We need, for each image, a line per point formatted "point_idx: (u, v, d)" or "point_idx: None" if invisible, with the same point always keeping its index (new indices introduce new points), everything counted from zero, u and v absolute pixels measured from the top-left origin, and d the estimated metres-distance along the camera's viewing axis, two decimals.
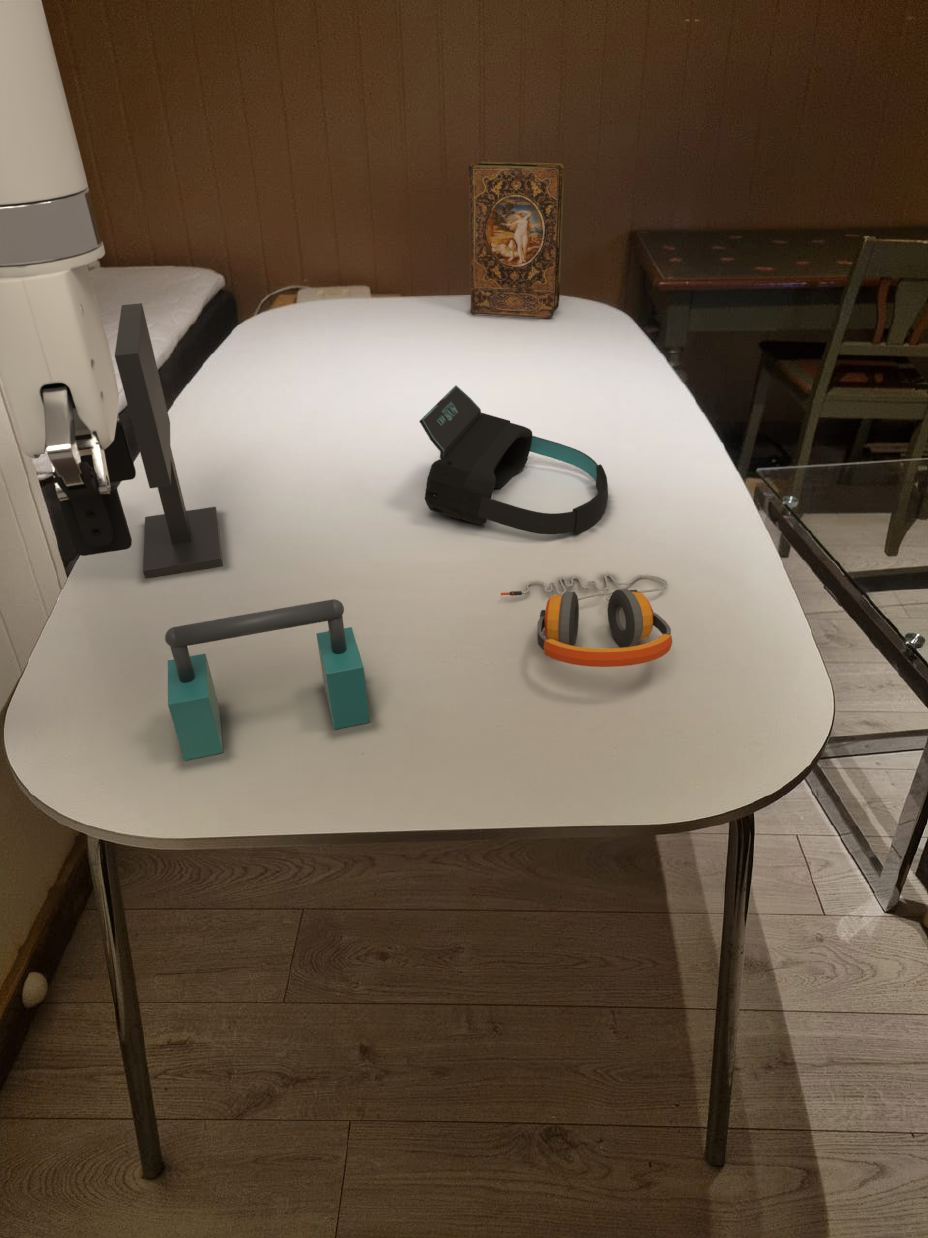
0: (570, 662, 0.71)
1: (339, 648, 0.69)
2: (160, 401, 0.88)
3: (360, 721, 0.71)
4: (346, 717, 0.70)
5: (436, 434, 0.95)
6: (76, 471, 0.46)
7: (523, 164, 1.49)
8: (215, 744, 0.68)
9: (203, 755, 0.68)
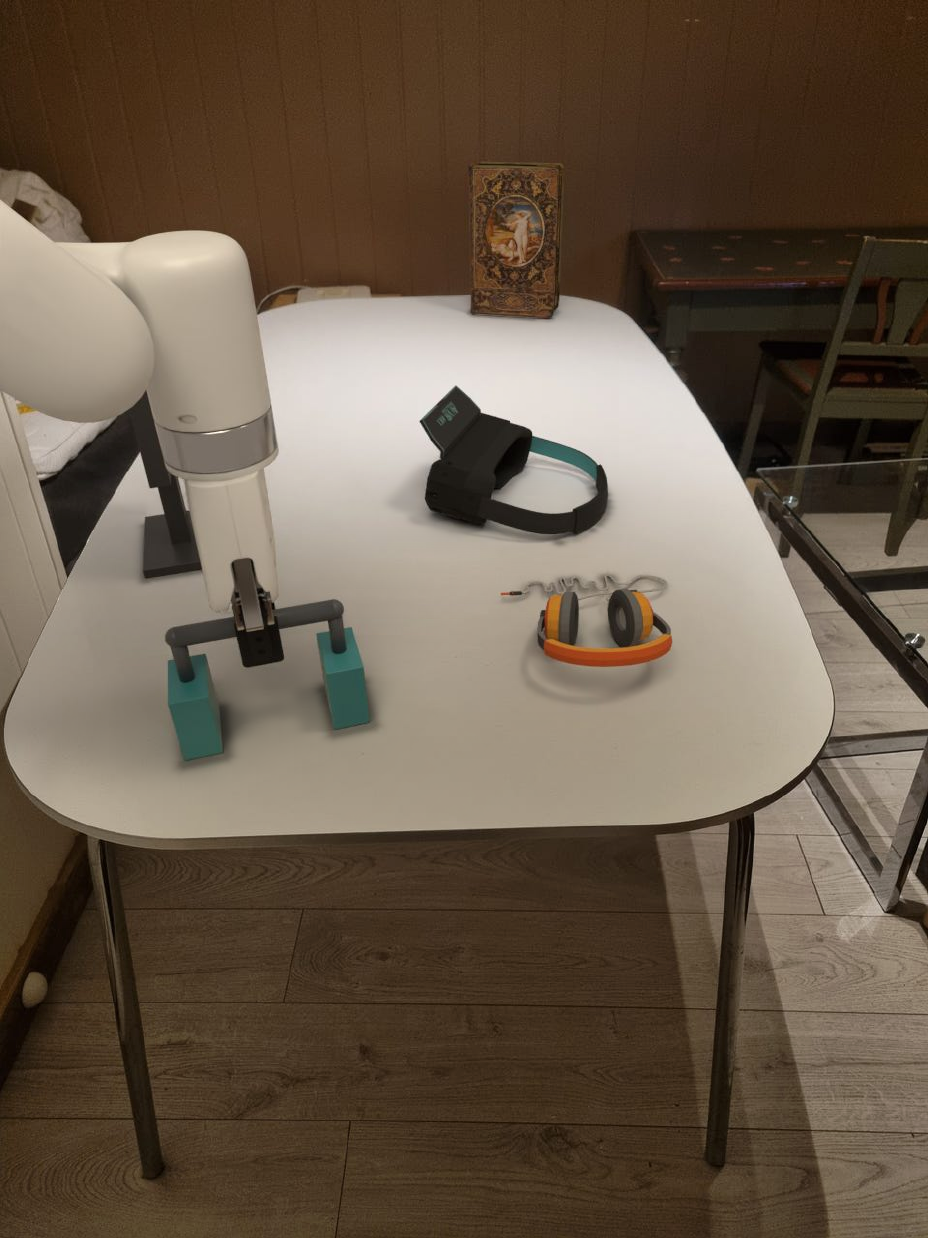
0: (570, 662, 0.71)
1: (339, 648, 0.69)
2: None
3: (360, 721, 0.71)
4: (346, 716, 0.70)
5: (436, 434, 0.95)
6: None
7: (523, 164, 1.49)
8: (215, 744, 0.68)
9: (203, 755, 0.68)
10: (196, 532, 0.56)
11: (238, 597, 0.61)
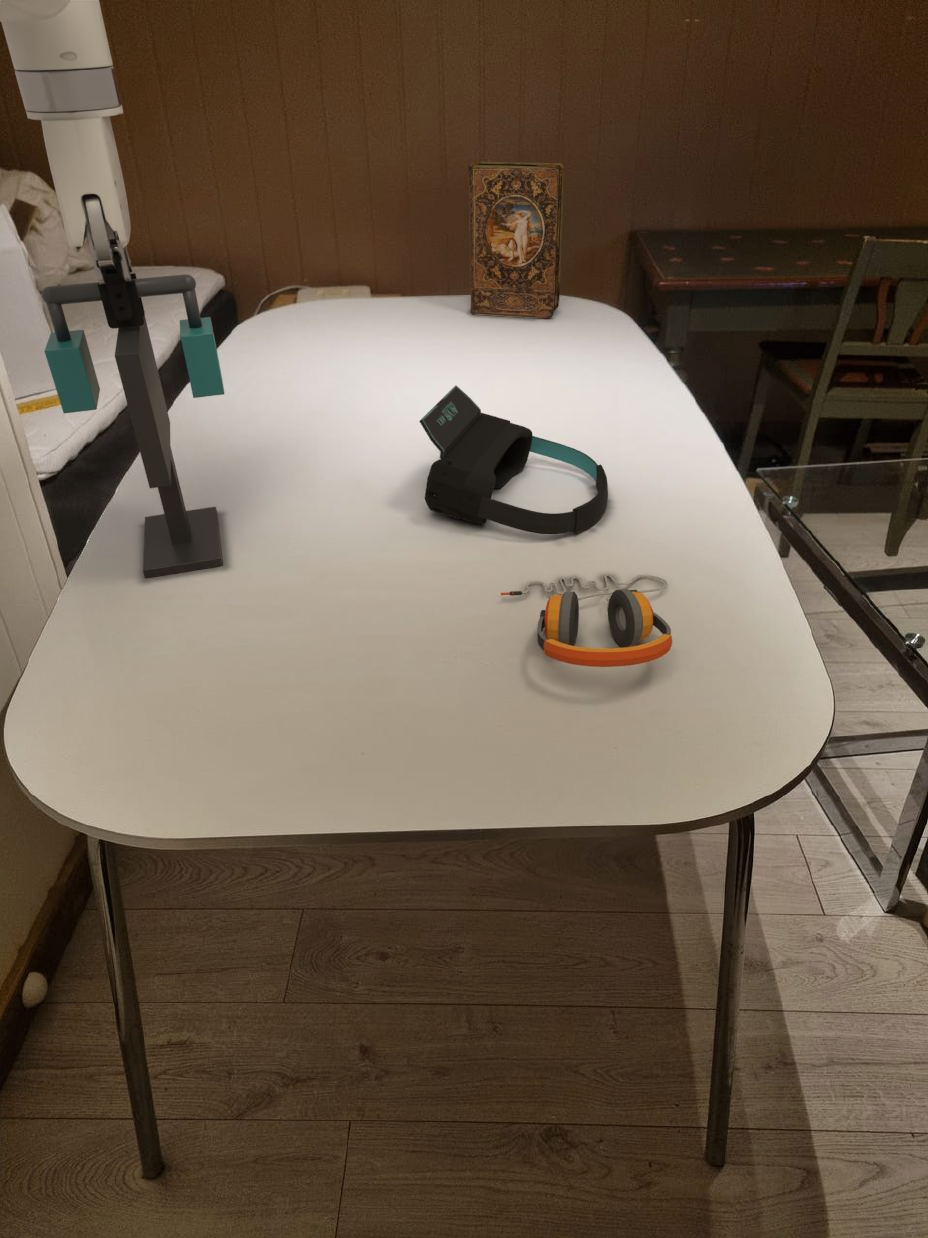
0: (570, 662, 0.71)
1: (194, 322, 0.82)
2: (160, 401, 0.88)
3: (216, 392, 0.84)
4: (203, 385, 0.83)
5: (436, 434, 0.95)
6: (113, 267, 0.74)
7: (523, 164, 1.49)
8: (89, 399, 0.81)
9: (79, 409, 0.81)
10: (50, 166, 0.69)
11: None
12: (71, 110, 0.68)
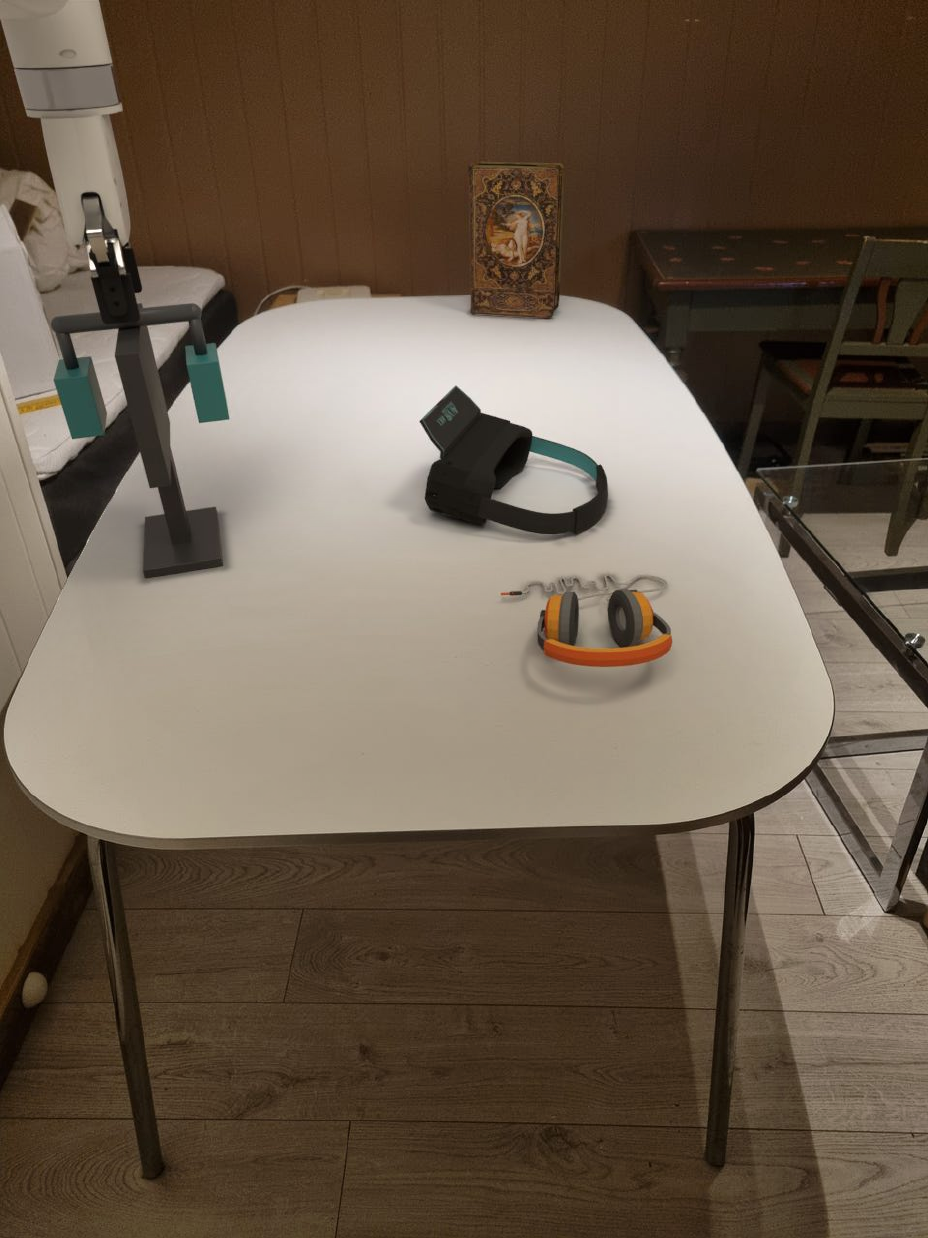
0: (570, 663, 0.71)
1: (200, 349, 0.84)
2: (160, 401, 0.88)
3: (221, 417, 0.86)
4: (208, 411, 0.85)
5: (436, 434, 0.95)
6: (104, 249, 0.70)
7: (523, 164, 1.49)
8: (97, 425, 0.83)
9: (87, 435, 0.83)
10: (50, 164, 0.69)
11: None
12: (71, 108, 0.68)
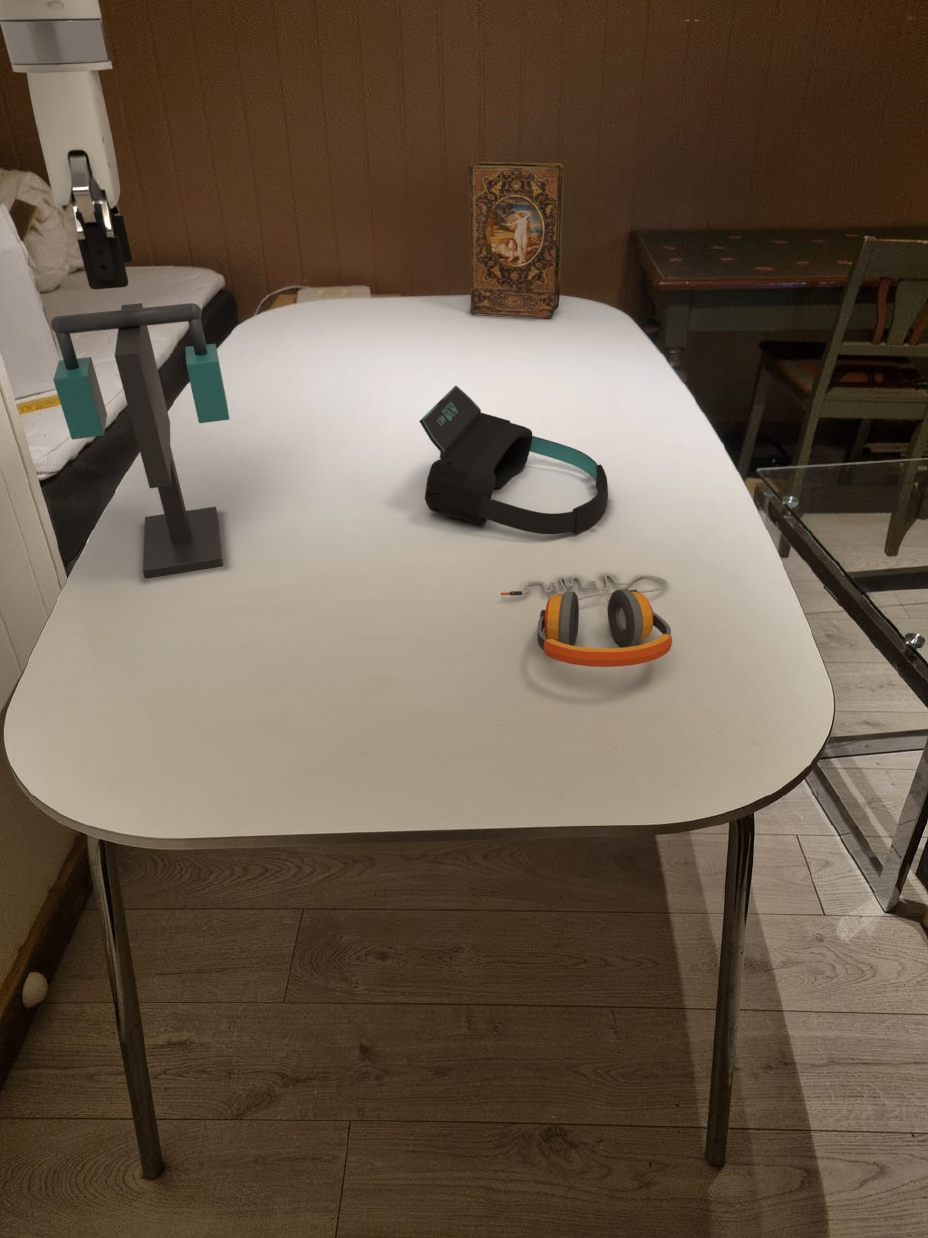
0: (570, 662, 0.71)
1: (200, 349, 0.83)
2: (160, 401, 0.88)
3: (221, 417, 0.85)
4: (208, 411, 0.85)
5: (436, 434, 0.95)
6: (91, 208, 0.68)
7: (523, 164, 1.49)
8: (97, 426, 0.83)
9: (87, 435, 0.83)
10: (36, 120, 0.67)
11: None
12: (58, 62, 0.66)
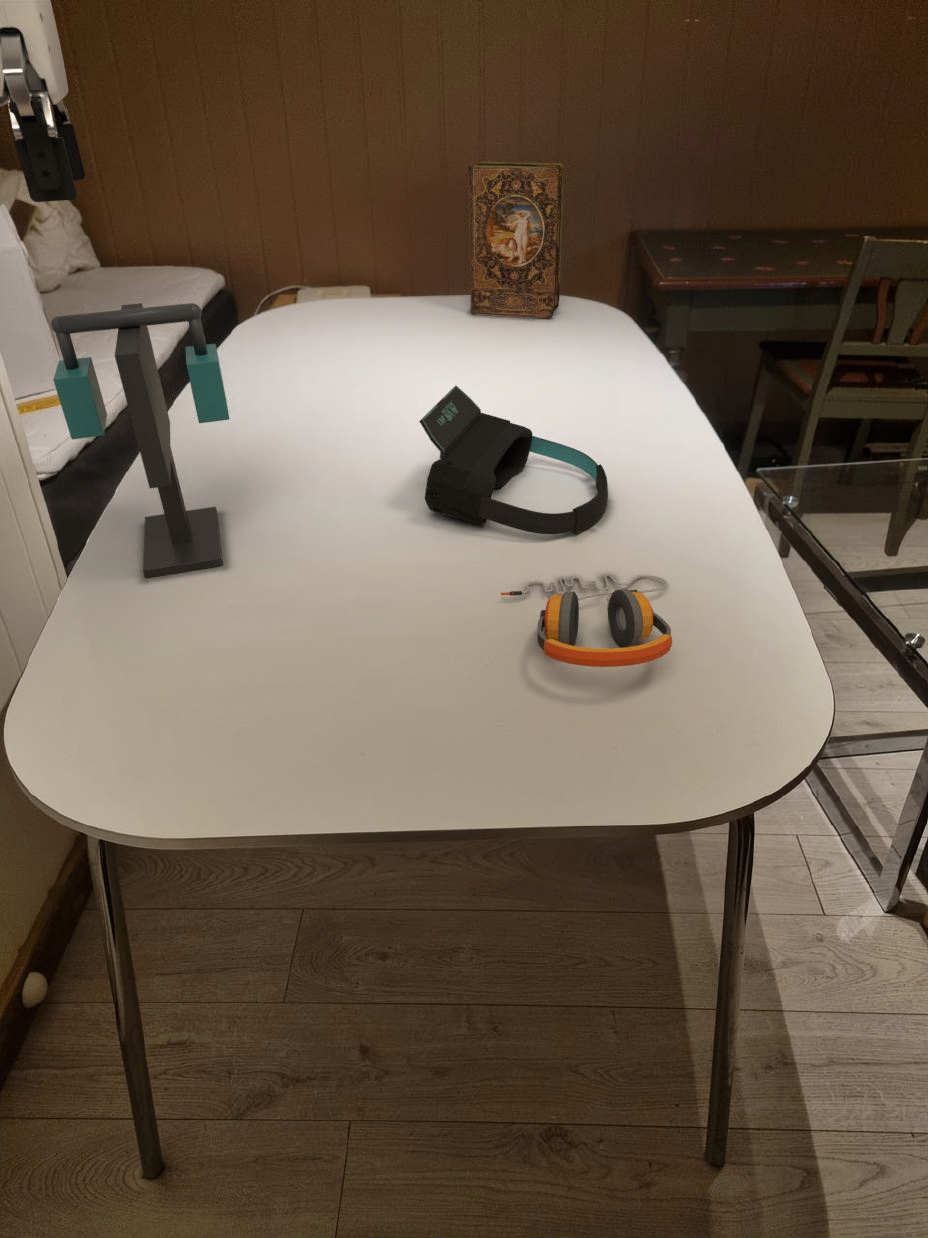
0: (570, 662, 0.71)
1: (200, 349, 0.83)
2: (160, 401, 0.88)
3: (221, 417, 0.85)
4: (208, 411, 0.85)
5: (436, 434, 0.95)
6: (27, 97, 0.57)
7: (523, 164, 1.49)
8: (97, 426, 0.83)
9: (87, 435, 0.83)
10: None
11: None
12: None
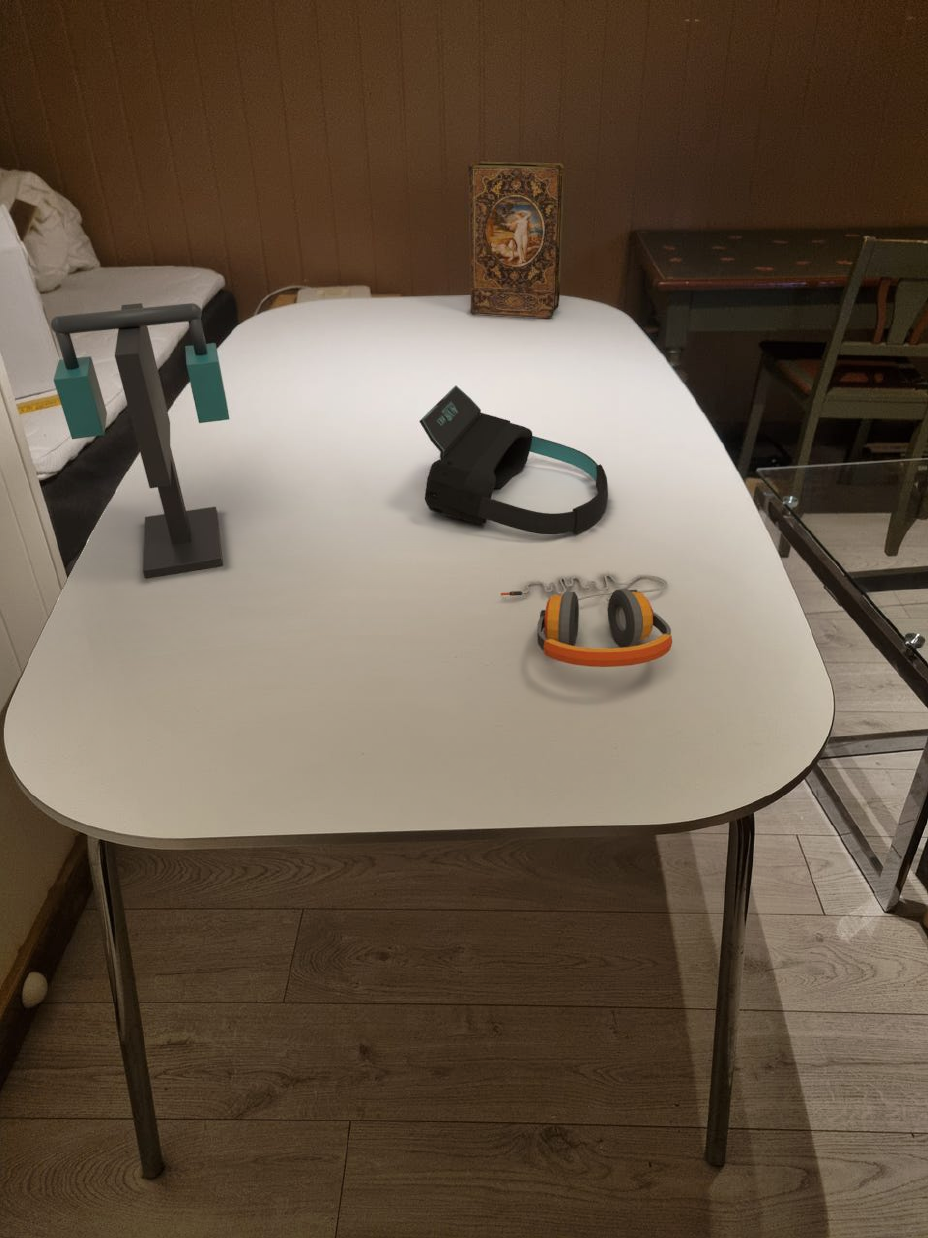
0: (570, 663, 0.71)
1: (200, 349, 0.84)
2: (160, 401, 0.88)
3: (221, 417, 0.86)
4: (208, 411, 0.85)
5: (436, 434, 0.95)
6: None
7: (523, 164, 1.49)
8: (97, 425, 0.83)
9: (87, 435, 0.83)
10: None
11: None
12: None
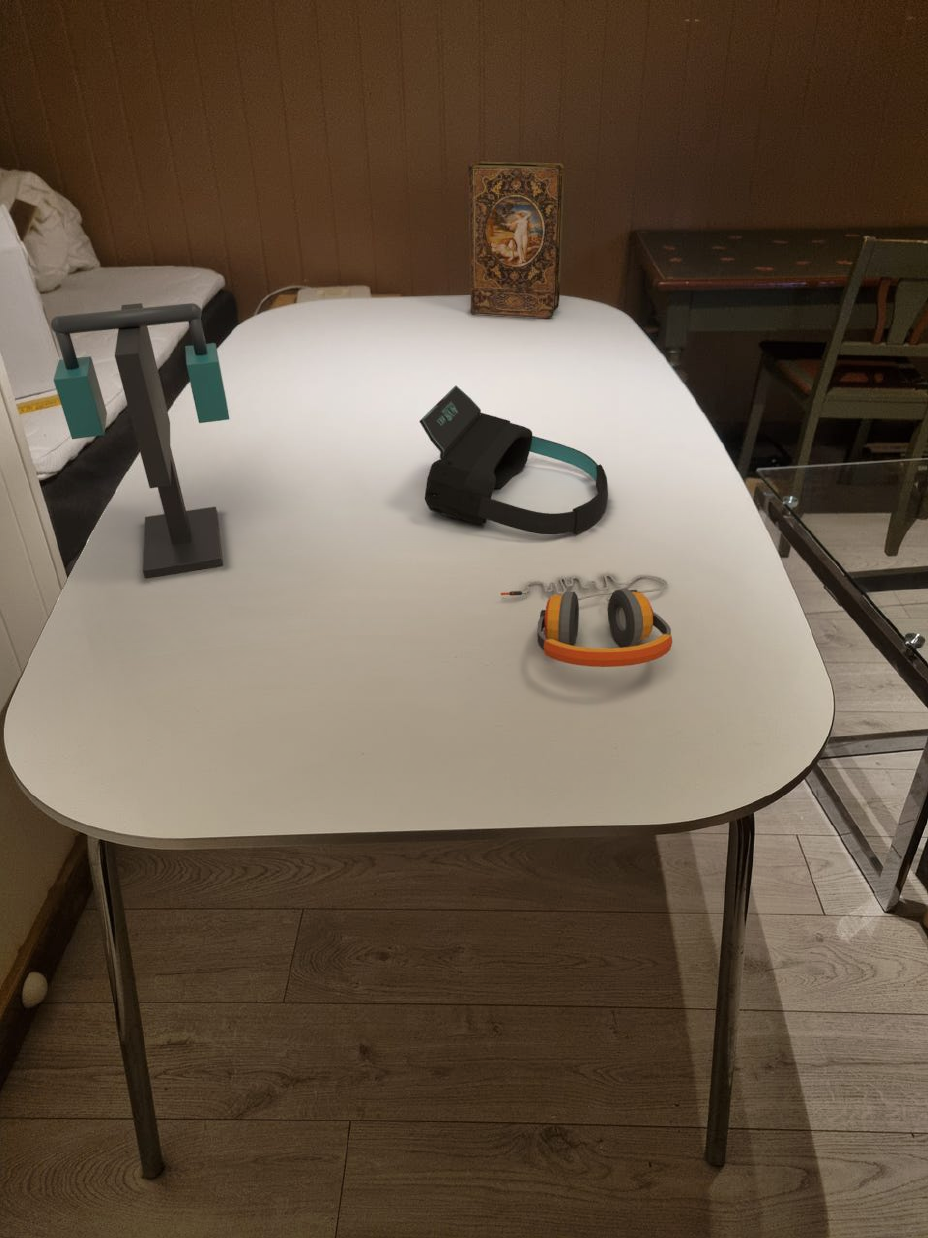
0: (570, 662, 0.71)
1: (200, 349, 0.84)
2: (160, 401, 0.88)
3: (221, 417, 0.86)
4: (208, 411, 0.85)
5: (436, 434, 0.95)
6: None
7: (523, 164, 1.49)
8: (97, 425, 0.83)
9: (87, 435, 0.83)
10: None
11: None
12: None
